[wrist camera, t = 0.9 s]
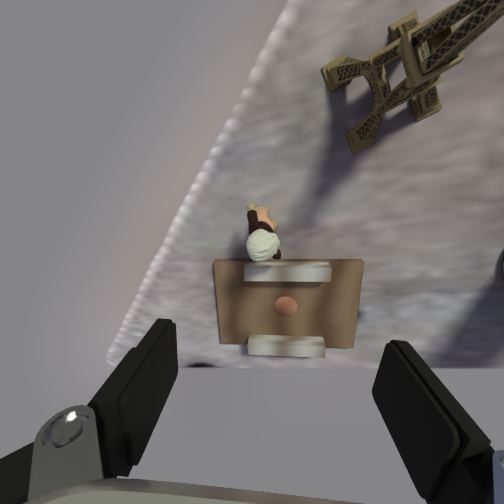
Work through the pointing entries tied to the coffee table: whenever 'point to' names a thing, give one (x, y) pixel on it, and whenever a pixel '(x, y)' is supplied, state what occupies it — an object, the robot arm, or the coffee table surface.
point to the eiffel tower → (414, 62)
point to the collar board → (288, 304)
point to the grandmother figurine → (262, 235)
